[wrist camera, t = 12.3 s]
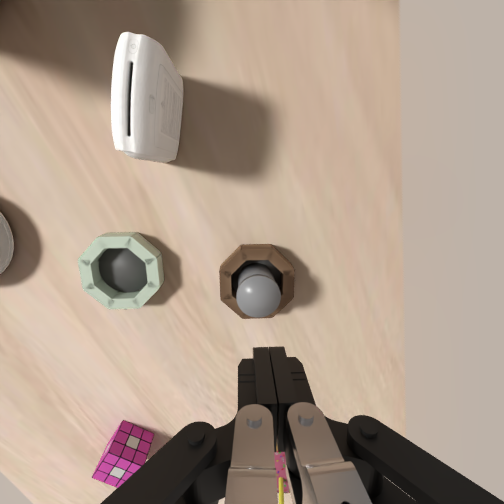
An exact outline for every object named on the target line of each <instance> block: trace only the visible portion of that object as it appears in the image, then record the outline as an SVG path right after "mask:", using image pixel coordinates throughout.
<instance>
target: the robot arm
mask: <svg viewBox="0 0 504 504" xmlns="http://www.w3.org/2000/svg"><path fill="white" fill-rule="evenodd" d="M276 447H277V448H278V452H285V458H286V476H287V480H288V485H289V489H290V493H291V498H292V502H293V504H504V502H503V501H502V500H500V499H498V498H497V497H496V496H494V495H492V494H491V493H489V492H488V491H486V490H485V489H483V488H482V487H480V486H478V485H477V484H475V483H474V482H472V481H471V480H469V479H468V478H466V477H465V476H463V475H461V474H460V473H458V472H457V471H455V470H454V469H452V468H451V467H449V466H448V465H446V464H444V463H443V462H441V461H440V460H438V459H436V458H435V457H434V456H432V455H431V454H429V453H427V452H426V451H424V450H423V449H421V448H420V447H418V446H417V445H415V444H413V443H412V442H410V441H409V440H407V439H406V438H404V437H403V436H401V435H400V434H398V433H397V432H395V431H393V430H392V429H390V428H389V427H387V426H386V425H384V424H383V423H381V422H380V421H378V420H376V419H374V418H372V417H369V416H365V415H358V416H355V417H353V418H351V419H350V421H349V423H348V424H346V423H342V422H337V421H334V420H331V419H329V418H327V417H325V416H324V414H323V412H322V411H321V410H320V409H319V408H318V407H317V406H316V404H315V401H314V398H313V395H312V392H311V389H310V386H309V383H308V380H307V377H306V374H305V371H304V368H303V365H302V363H301V362H300V361H299V360H298V359H297V358H296V357H287V356H286V352H285V348H284V347H269V350H268V347H256V348H253V359H242V361H241V362H240V364H239V366H238V411H237V414H236V416H235V418H234V419H233V420H232V421H231V422H230V423H228V424H227V425H225V426H222V427H219V428H216V429H214V427H213V426H212V425H210V424H209V423H206V422H194V423H191V424H189V425H187V426H185V427H184V428H183V429H182V430H181V431H180V432H178V433H177V434H176V435H175V436H174V437H173V438H172V439H171V440H170V441H169V442H167V443H166V444H165V445H164V446H163V447H162V448H161V449H160V450H159V451H158V452H157V453H155V454H154V455H153V456H152V457H151V458H150V459H149V460H148V461H147V462H146V463H145V464H143V465H142V466H141V467H140V468H139V469H138V470H137V471H136V472H135V473H134V474H132V475H131V476H130V477H129V478H128V479H127V480H126V481H125V482H124V483H123V484H122V485H120V486H119V487H118V488H117V489H116V490H115V491H114V492H113V493H112V494H111V495H109V496H108V497H107V498H106V499H105V500H104V501H103V502H102V503H101V504H218V502H219V500H220V499H222V498H224V497H225V504H278V498H277V478H276V468H275V455H274V452H276ZM384 476H385V477H386V478H387V479H386V478H385V477H384ZM388 479H389V480H390V481H391V482H390V481H389V480H388ZM392 482H393V483H394V484H395V485H396V486H395V485H394V484H393V483H392ZM397 486H398V487H399V488H400V489H399V488H398V487H397ZM401 489H402V490H403V491H404V492H405V493H404V492H403V491H402V490H401ZM406 493H407V494H408V495H409V496H408V495H407V494H406ZM411 497H412V498H413V499H414V500H413V499H412V498H411Z"/></svg>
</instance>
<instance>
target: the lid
mask: <svg viewBox="0 0 504 504" xmlns="http://www.w3.org/2000/svg"><path fill="white" fill-rule="evenodd" d="M13 251H14V240H13V235H12V232H11V229H10V226H9V224H8V222H7V221H6V219H5V217H4V216H3V215H2V213H1V212H0V274H1V273H2V272H3V271H4V270H5V269H6V268H7V267H8V265H9V263H10V261H11V259H12V256H13Z"/></svg>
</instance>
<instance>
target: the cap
mask: <svg viewBox="0 0 504 504" xmlns="http://www.w3.org/2000/svg"><path fill="white" fill-rule="evenodd" d="M236 299H237V304H238V306H239V308H240V309H241V311H242V312H244V313H245V314H246V315H248V316H251V317H256V318H260V317H265V316H268V315H270V314H271V313H273V312H274V311H275V310H276V309H277V307H278V306H279V303H280V300H281V294H280V290H279V287H278V285H277V283H276V282H275V280H274V277H273V274H272V271H271V270H270V269H269V268H268V267H267V266H266V265H264V264H261V263H251V264H248V265H247V266H245V267H244V268H243V269H242V270H241V271H240V273H239V277H238V289H237V296H236Z"/></svg>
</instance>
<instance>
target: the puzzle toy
mask: <svg viewBox="0 0 504 504" xmlns="http://www.w3.org/2000/svg"><path fill="white" fill-rule="evenodd" d="M153 437H154V434H153V433H151V432H149V431H147V430H144V429H142V428H140V427H137V426H135V425H133V424H131V423H128V422H126V421H124V420H123V421H122V422H121V424H120V425H119V427H118V429H117V430H116V432H115V433H114V435H113V436H112V438H111V439H110V441H109V443H108V444H107V446H106V448H105V451H104V453H103V455H102V457H101V459H100V461H99V463H98V465H97V467H96V469H95V472H94V474H93V476H92V478H94V479H96V480H99V481H101V482H104V483H106V484H109V485H112V486H114V487H115V486H116V487H117V488H118V487H119V486H120V485H122V484H123V483H124V482H125V481H126V480H127V479H128V478H129V477H130V476H131V475H132V474H134V473H135V472H136V471H137V470H138V469H139V468H140V467H141V466H142V465H143V464H145V462H146V459H147V455H148V452H149V449H150V446H151V443H152V440H153Z"/></svg>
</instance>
